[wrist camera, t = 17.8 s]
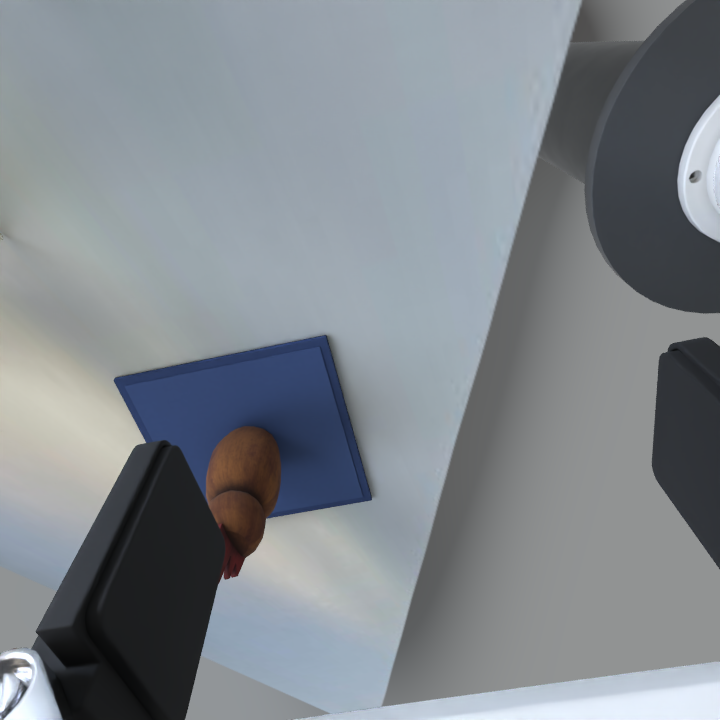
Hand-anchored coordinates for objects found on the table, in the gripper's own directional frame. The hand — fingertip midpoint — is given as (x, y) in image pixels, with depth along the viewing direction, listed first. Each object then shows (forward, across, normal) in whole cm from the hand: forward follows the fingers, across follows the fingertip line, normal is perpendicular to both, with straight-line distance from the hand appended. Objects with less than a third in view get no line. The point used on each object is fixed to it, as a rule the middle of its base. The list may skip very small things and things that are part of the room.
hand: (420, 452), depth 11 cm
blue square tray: (+30, +15, +21) cm, 40 cm away
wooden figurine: (+30, +15, +21) cm, 39 cm away
